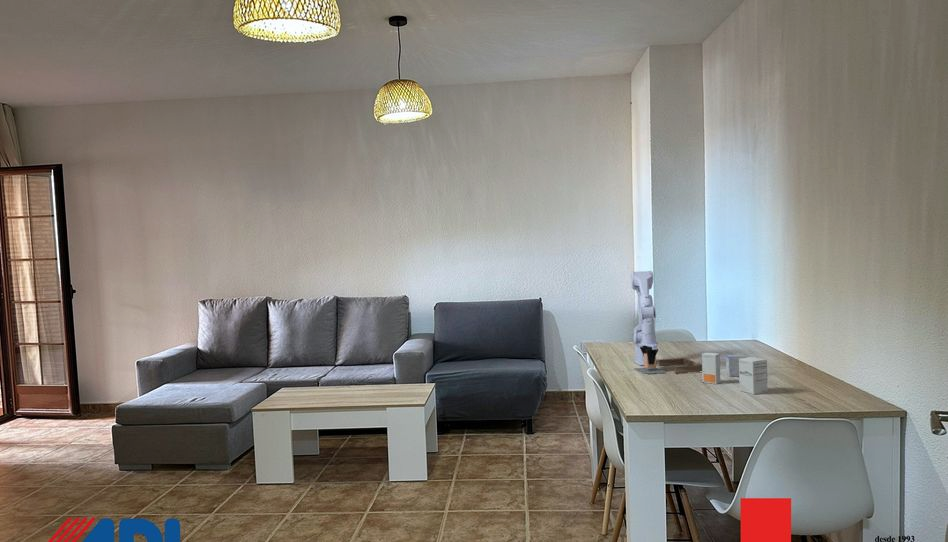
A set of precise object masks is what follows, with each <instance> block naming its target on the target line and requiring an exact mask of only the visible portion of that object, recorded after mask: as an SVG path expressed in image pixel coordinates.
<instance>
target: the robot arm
mask: <svg viewBox="0 0 948 542" xmlns="http://www.w3.org/2000/svg"><path fill="white" fill-rule="evenodd" d="M630 279H631V280H630V281H631V288H632V290H634V291H636V294H637V295H636V296H637V308H638V309H637V310H638V324H637V325H636V326H635V327H634V328H633V343H634V345H636V346H635V348H634V357H635V359H634V361H633V363H635V364H636V365H639V366H644V353H647V356H648V362H649V364H654V362H655V357H656V358H657V354H658V352H659V349H658V345H659V342H657V341H656V340H657V339H656V325H655V324H656V322H655V321H656V317H657V312H656V307H655V305H654V300H653V297H652V295H651V294H650V290H652V287H653V285H654V273H653V271H652V270H647V271H646V270H645V271H631V275H630Z"/></svg>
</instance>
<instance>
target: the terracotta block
mask: <svg viewBox="0 0 948 542" xmlns="http://www.w3.org/2000/svg"><path fill="white" fill-rule="evenodd" d="M643 366H644V367H643V368H657V356H656V357H655V362H654V364H649V362H648V356H647V353H644V365H643Z"/></svg>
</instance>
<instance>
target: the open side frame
mask: <svg viewBox="0 0 948 542" xmlns="http://www.w3.org/2000/svg"><path fill="white" fill-rule="evenodd" d="M657 361H658V364H657V365H658V367H659V366H664V367H671V366H670V365H678V366H673V367H674V374H675V373H682V374H689V373H688V372H696V373H701V372H700V371H702V363H699V362H696V361H693V360H691V359H688V358H686V357H683V358H669V359H658V360H657ZM685 365H686V366H685Z"/></svg>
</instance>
